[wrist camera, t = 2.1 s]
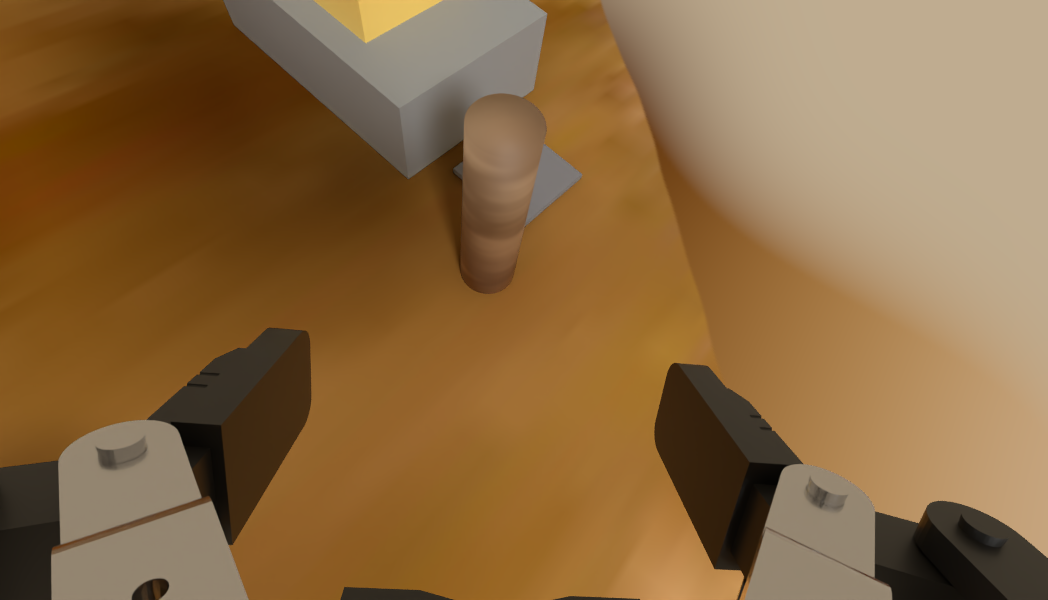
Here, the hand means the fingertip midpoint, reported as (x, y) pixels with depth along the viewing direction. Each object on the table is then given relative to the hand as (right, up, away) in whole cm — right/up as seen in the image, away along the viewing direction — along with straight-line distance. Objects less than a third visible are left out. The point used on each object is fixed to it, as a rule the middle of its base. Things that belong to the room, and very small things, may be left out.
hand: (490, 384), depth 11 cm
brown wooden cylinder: (-1, +4, +19) cm, 20 cm away
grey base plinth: (-9, +19, +25) cm, 33 cm away
